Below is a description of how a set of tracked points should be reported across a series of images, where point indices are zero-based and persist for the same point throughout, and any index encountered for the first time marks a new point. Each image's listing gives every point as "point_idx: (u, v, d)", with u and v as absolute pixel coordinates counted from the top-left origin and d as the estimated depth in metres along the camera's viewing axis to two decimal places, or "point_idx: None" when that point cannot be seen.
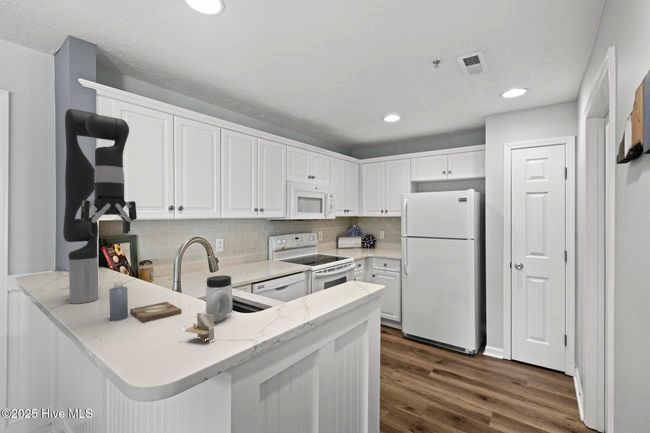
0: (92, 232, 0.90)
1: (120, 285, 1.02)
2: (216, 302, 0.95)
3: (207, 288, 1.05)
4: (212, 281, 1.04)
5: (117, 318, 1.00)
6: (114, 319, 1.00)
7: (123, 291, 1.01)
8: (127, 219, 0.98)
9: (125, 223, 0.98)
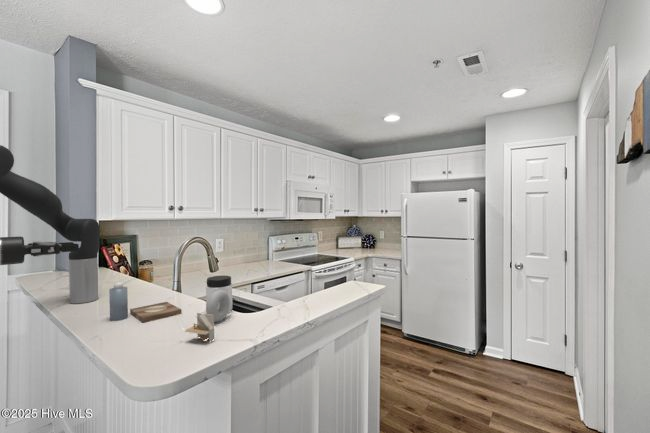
0: None
1: (120, 285, 1.02)
2: (216, 302, 0.95)
3: (207, 288, 1.05)
4: (212, 281, 1.04)
5: (117, 318, 1.00)
6: (114, 319, 1.00)
7: (123, 291, 1.01)
8: None
9: None
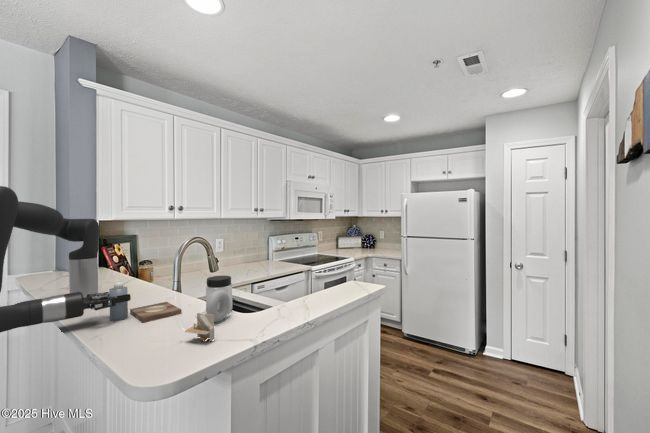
0: None
1: (120, 285, 1.02)
2: (216, 302, 0.95)
3: (207, 288, 1.05)
4: (212, 281, 1.04)
5: (117, 318, 1.00)
6: (114, 319, 1.00)
7: (123, 291, 1.01)
8: None
9: None
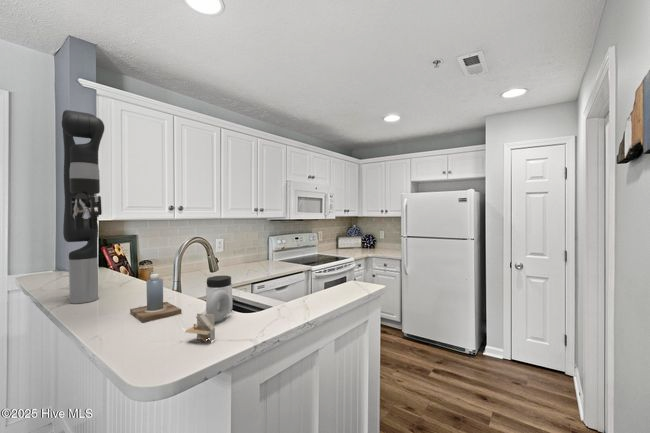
0: None
1: (156, 277, 1.06)
2: (216, 302, 0.95)
3: (207, 288, 1.05)
4: (212, 281, 1.04)
5: (154, 308, 1.04)
6: (151, 309, 1.04)
7: (159, 282, 1.06)
8: (88, 214, 0.94)
9: None
